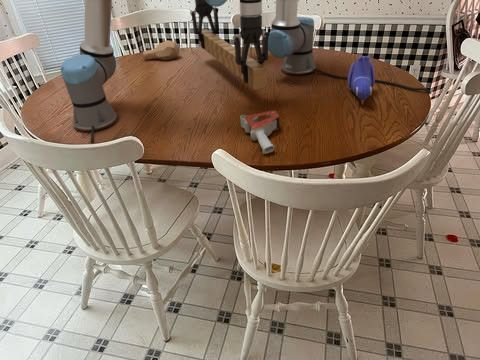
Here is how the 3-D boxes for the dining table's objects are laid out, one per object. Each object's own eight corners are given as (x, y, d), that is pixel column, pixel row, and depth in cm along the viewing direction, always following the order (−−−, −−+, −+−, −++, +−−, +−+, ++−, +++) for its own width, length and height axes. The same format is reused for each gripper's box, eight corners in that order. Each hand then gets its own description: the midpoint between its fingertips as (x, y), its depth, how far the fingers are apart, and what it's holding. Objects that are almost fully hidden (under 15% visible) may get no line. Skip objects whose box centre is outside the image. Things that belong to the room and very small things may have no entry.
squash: (180, 60, 189) (175, 44, 182) (144, 67, 191) (138, 52, 184) (182, 51, 196) (177, 35, 190) (147, 58, 198) (141, 42, 192)
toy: (345, 95, 151) (349, 109, 128) (348, 53, 144) (352, 60, 122) (370, 95, 149) (378, 108, 126) (374, 52, 142) (383, 59, 120)
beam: (266, 87, 131) (266, 67, 127) (254, 89, 130) (254, 69, 126) (208, 44, 182) (206, 29, 178) (199, 45, 181) (197, 30, 176)
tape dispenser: (269, 161, 108) (297, 129, 121) (269, 147, 105) (298, 115, 117) (221, 145, 116) (252, 116, 128) (220, 131, 112) (252, 103, 125)
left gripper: (269, 10, 128) (268, 73, 141) (223, 16, 122) (227, 81, 136) (279, 13, 122) (277, 79, 136) (231, 20, 117) (234, 88, 130)
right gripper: (217, -9, 167) (222, 42, 181) (181, -4, 162) (189, 48, 176) (223, -7, 161) (227, 45, 175) (186, -2, 156) (193, 52, 170)
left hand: (252, 80), depth 136 cm, fingers closed on beam, 5 cm apart
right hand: (208, 47), depth 175 cm, fingers closed on beam, 5 cm apart
